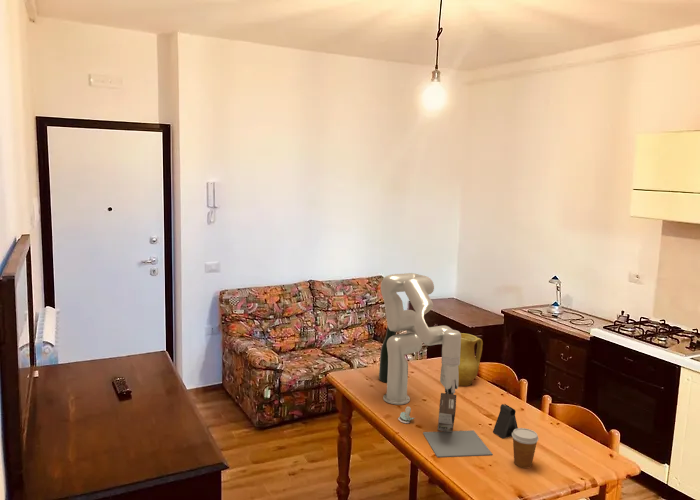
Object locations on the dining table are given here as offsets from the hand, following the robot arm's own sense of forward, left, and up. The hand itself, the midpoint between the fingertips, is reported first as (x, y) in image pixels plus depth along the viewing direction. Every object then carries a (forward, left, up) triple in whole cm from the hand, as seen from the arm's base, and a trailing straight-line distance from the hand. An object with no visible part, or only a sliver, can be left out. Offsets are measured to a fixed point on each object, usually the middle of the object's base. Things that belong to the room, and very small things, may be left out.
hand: (448, 402), depth 232 cm
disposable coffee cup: (+29, +20, -12) cm, 37 cm away
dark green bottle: (-59, -12, -12) cm, 61 cm away
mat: (+12, 0, -12) cm, 17 cm away
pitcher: (-54, +26, -12) cm, 61 cm away
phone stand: (+5, +24, -12) cm, 27 cm away
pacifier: (-10, -16, -12) cm, 22 cm away
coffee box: (-1, -1, -9) cm, 9 cm away
